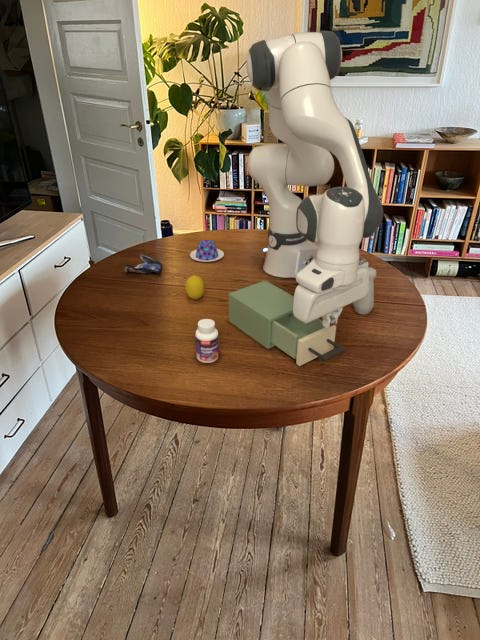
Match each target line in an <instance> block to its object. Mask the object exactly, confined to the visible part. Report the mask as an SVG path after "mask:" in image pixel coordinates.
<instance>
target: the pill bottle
mask: <svg viewBox="0 0 480 640" xmlns="http://www.w3.org/2000/svg"><path fill="white" fill-rule="evenodd" d="M194 335H195V337H194V338H195V355H196V360H197V361H199V362H200V363H204V364H211V363H214V362H216V361H217V360H218V359H219V355H220V351H219V350H220V349H219V347H220V346H219V331H218V329H217V328H216V322H215V320H213V319H211V318H203V319H200V320H198V322H197V329H196V330H195V333H194Z"/></svg>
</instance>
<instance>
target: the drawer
mask: <svg viewBox="0 0 480 640" xmlns="http://www.w3.org/2000/svg"><path fill="white" fill-rule="evenodd" d="M322 322H323V319H322V318H321V319H320V318H317V319H315V320H313V321H311V322H309V323H303V322H301V321H300V320H298V319H297V318H296V317H295V316H294V315H293V313H290V314H288V315H286V316H283V317H281V318H278V319H276V320H274V321H271V341H270V342H271V343H272V344H274V345H275V346H274V347H276V348H278V350H281V351H282V352H284V353H286V354H287V355H288V356H290V357H291V358H292V359H295V360H296V361H295V362H296V363H295V364H296V365H297V366H299V367H301V366H303V365H305V364H307V363H309V362H311V361H312V360H314V359H317V358H319V360H320V361H321V363H323V362H327V361H329V360H330V359H332V358H333V357H336V356H338V355H339V354H341V353H343V352H345V351H346V349H347V348H346V346H345V345H343V344H342V345H340V344H338V343H337V342H335V340H336V334H337V333H336V332H337V324H335V325H332V326H331V327H328V328H326V327H324V326H323V325H322Z"/></svg>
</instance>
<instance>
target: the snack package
mask: <svg viewBox="0 0 480 640" xmlns="http://www.w3.org/2000/svg"><path fill="white" fill-rule="evenodd" d="M139 258H140V260H142V261H143V263H139V264H138V265H136V266H135V267H134V266H133V265H131V264H125V266H124V270H123V271H124V272H125V273H126V274H128V272H131V273H138V274H150V273H155V274H160V273H161V272H162V271H161V269H162V267H163V265H162V262H160V261H159V260H155V259H153V258H152V257H149V256H147V255H145V254H139ZM137 259H138V258H136V260H137ZM157 276H159V275H157Z"/></svg>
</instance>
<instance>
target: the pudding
mask: <svg viewBox="0 0 480 640" xmlns="http://www.w3.org/2000/svg"><path fill="white" fill-rule="evenodd" d="M224 256H225V252H224V251H223V250H221V249H219V248H217V245H216V242H215V241H214V240H210V239H203V240H200V241H199V242H198V243H197V247H196V249H194V250H193V251H191V252H190V253H189V257H190V258H191V259H192V260H194V261H198V262H202V263H203V262H204V263H205V262H207V263H208V262H215V261H218V260H220V259H222V258H223V257H224Z"/></svg>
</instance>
